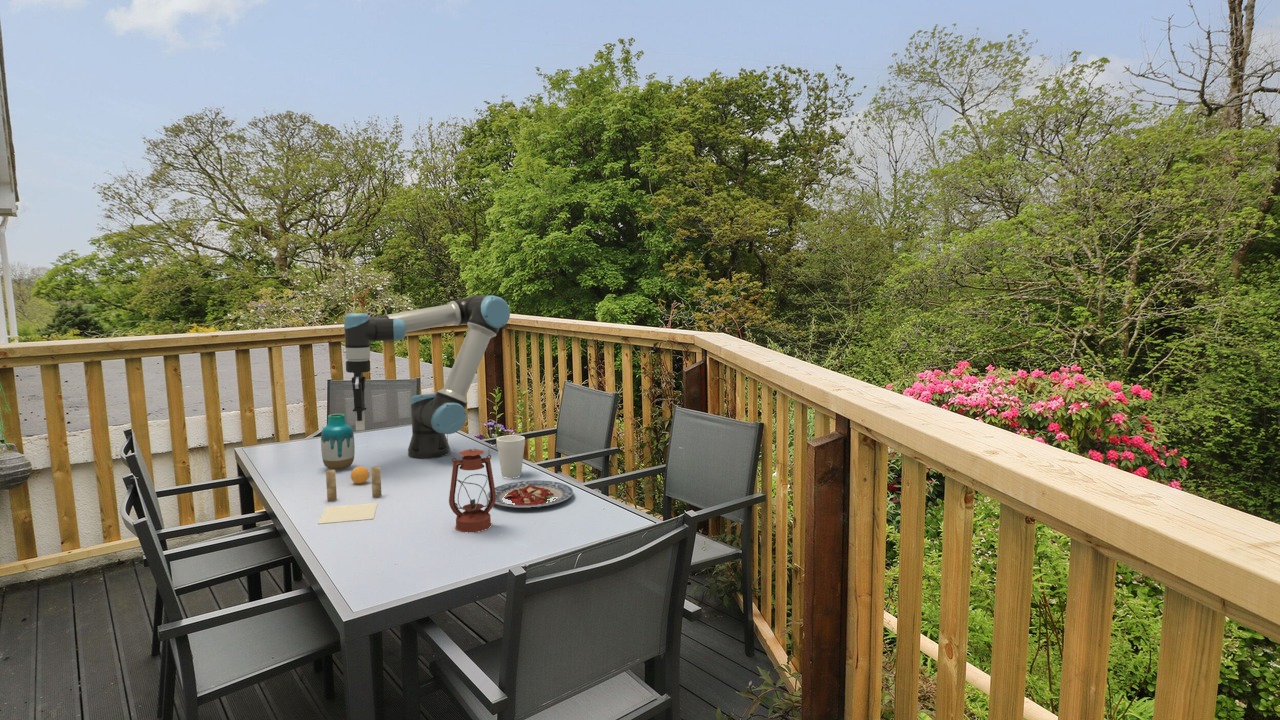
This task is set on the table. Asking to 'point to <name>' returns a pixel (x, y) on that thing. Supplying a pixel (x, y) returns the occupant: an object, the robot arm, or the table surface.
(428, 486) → the table surface
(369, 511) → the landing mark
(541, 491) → the ceramic plate
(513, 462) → the foam cup
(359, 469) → the ball
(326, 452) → the vase
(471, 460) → the lantern
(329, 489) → the left post
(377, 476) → the right post
